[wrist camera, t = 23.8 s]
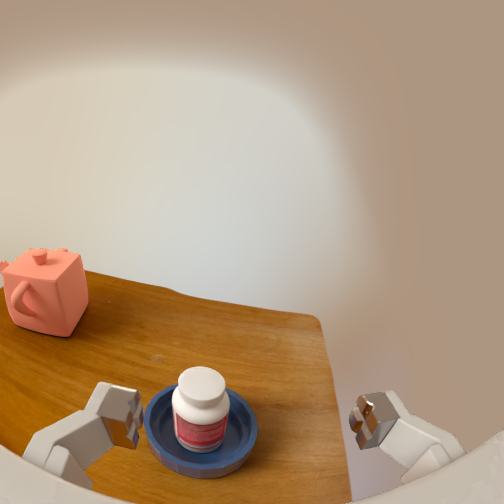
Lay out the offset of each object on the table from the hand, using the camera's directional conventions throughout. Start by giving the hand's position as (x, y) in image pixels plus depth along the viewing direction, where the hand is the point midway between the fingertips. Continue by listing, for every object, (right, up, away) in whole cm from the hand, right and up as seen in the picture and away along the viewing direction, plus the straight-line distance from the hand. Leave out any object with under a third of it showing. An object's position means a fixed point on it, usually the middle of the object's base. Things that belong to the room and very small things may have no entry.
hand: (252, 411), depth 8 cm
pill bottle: (-7, -17, +19) cm, 27 cm away
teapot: (-42, -7, +33) cm, 54 cm away
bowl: (-7, -18, +20) cm, 27 cm away
